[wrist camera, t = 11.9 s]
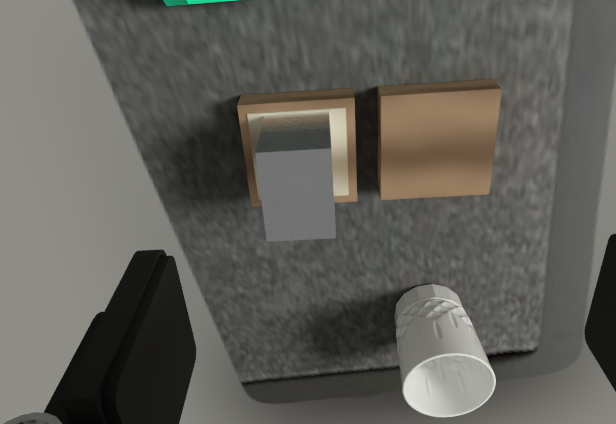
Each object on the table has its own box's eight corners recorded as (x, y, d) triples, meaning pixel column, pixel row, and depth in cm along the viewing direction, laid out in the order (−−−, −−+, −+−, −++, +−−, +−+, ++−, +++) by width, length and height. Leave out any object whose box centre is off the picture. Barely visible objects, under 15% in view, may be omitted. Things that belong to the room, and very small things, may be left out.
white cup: (415, 348, 56) (433, 429, 48) (373, 303, 53) (384, 381, 45) (480, 314, 54) (512, 393, 45) (440, 265, 51) (466, 339, 42)
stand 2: (377, 86, 42) (381, 96, 40) (492, 79, 42) (501, 88, 39) (377, 186, 46) (380, 199, 44) (481, 180, 46) (489, 194, 44)
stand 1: (241, 95, 42) (236, 106, 40) (352, 87, 42) (354, 98, 40) (254, 192, 47) (251, 207, 45) (355, 187, 47) (357, 202, 44)
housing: (264, 115, 41) (255, 152, 34) (329, 111, 40) (331, 148, 34) (273, 195, 44) (266, 241, 38) (333, 191, 44) (335, 238, 38)
